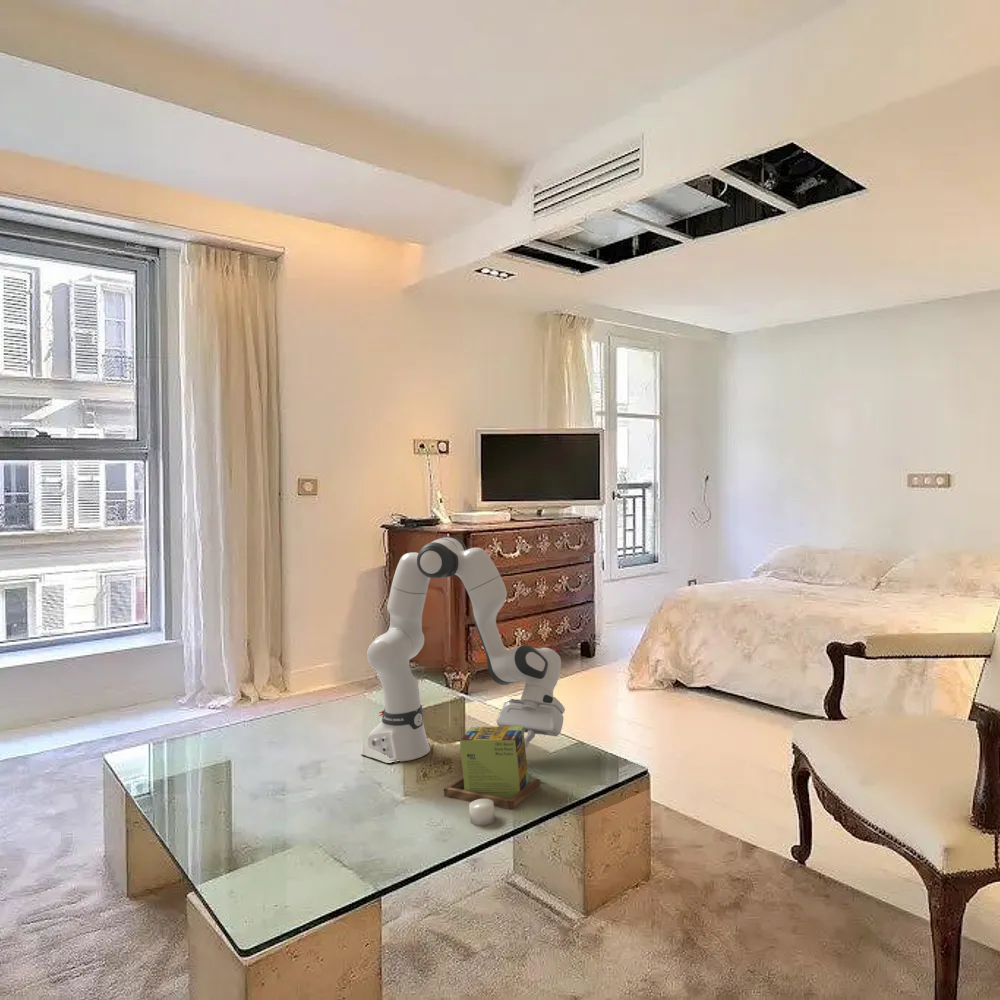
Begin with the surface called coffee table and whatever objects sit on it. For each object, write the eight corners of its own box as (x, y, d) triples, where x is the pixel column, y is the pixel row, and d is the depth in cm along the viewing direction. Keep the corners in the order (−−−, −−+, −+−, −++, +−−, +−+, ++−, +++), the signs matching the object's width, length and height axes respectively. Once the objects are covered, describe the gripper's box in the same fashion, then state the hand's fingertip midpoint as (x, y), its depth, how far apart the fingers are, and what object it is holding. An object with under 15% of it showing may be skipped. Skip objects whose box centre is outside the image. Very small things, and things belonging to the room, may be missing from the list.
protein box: (521, 799, 190) (515, 739, 189) (464, 798, 193) (458, 740, 193) (529, 781, 200) (524, 725, 199) (475, 781, 204) (470, 726, 203)
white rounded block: (465, 823, 179) (464, 807, 179) (479, 812, 184) (478, 797, 184) (485, 827, 176) (484, 811, 176) (499, 816, 181) (498, 801, 181)
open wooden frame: (444, 795, 196) (443, 788, 196) (475, 775, 208) (474, 768, 208) (512, 809, 184) (511, 801, 184) (540, 786, 196) (539, 779, 196)
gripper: (501, 693, 220) (486, 736, 213) (561, 699, 209) (547, 745, 201) (510, 703, 224) (496, 746, 217) (570, 709, 213) (557, 755, 205)
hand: (521, 745), depth 209 cm, fingers closed
